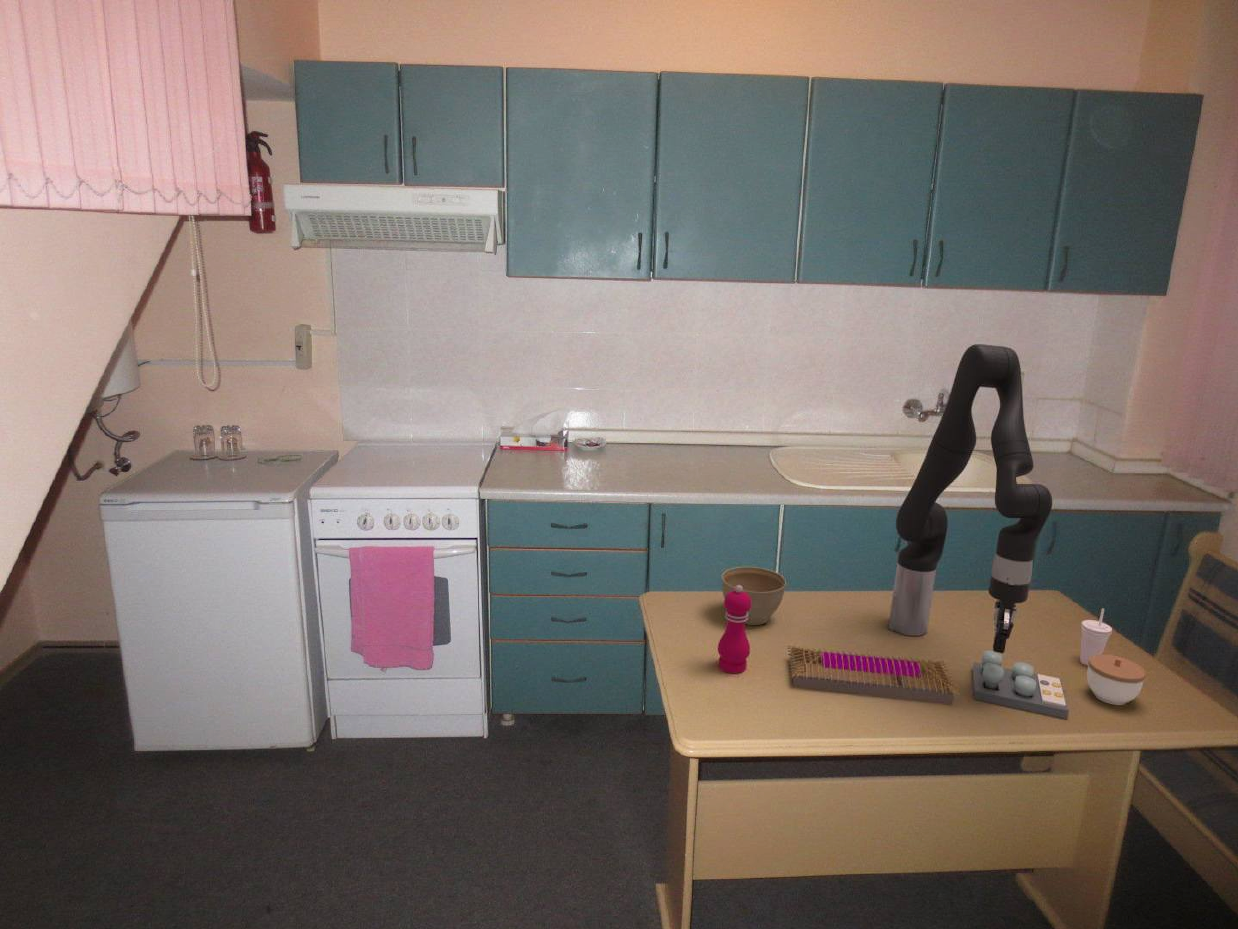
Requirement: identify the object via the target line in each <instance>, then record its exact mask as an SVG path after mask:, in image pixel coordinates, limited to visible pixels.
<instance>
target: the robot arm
mask: <svg viewBox="0 0 1238 929" xmlns="http://www.w3.org/2000/svg"><path fill="white" fill-rule="evenodd" d="M1021 369H1022V368H1021V364H1020V359H1019V356H1018V354H1017V352H1016V351H1015V350H1014V349H1012V348H1011V347H1007V346H1002V345H991V344H983V343H981V344H979V343H976V344H972V345H970V346H969V347H967V349H966V350H965V351H964V353H963V355H962V356H961V358H960V360H959V364H958V366H957V369H956V373H955V377H954V380H953V382H952V383H953V384H952V386H951V390H950V393H949V396H948V399H947V402H946V405H945V407H944V411H943V413H942V415H941V418H940V421H939V423H938V426H937V427H936V430H935V432H934V434H933V436H932V439H931V441H930V443H929V446H928V449H927V451H926V454H925V457H924V459H923V461H922V464H921V465H920V468H919V471H918V473H917V475H916V478H915V480H914V482H913V484H912V485H911V487H910V490H909V491H908V493H907V495H906V497H905V499H904V500H903V502H902V504H901V506H900V507H899V509H898V512H897V514H896V520H895V528H896V532H897V534H898V536H899V537H900V538H901V539H902V540H903V541H905V542H909V544H908V545H906V546H905V547H904V548H902V549H901V550H900V551H899V553H898V557H897V563H896V564H897V565H896V572H895V578H894V585H893V591H892V592H893V593H892V598H891V605H890V613H889V619H888V627H887V628H888V630H892V631H894V632H895V633H896V632H897V633H899V634H901V635H906V636H912V637H917V636H918V637H919V636H924V635H925V634H926V633H927V632H928V626H929V621H930V613H931V607H932V600H933V593H934V586H935V580H936V573H937V568H938V563H939V561H940V560H941V558H942V556H943V552H944V548H945V547H944V546H945V543H946V537H947V533H948V527H949V524H948V523H949V522H948V521H949V520H948V519H949V518H948V514H947V512H946V510H945V508H944V507H943V505H942V504H940V503H937V500H938V499H939V497H940V496H941V494H942V493H943V492H944V491H945V490H946V489H947V488H948V487H949V486H950V485H952V483H954V482H955V480H956V479H957V478H959V477H960V475H961V474H962V473H963V472H964V470H965V469H966V467H967V466H968V464H969V461H970V460H971V457H972V455H973V451H974V450H975V447H976V445H977V432H976V427H975V423H974V419H973V412H972V411H973V410H972V409H973V405H974V401H975V398H976V395H977V393H978V391H979V389H980V388H988V389H989V388H991V389H995V390H996V393H997V395H998V398H999V399H998V400H999V410H998V413H997V416H996V419H995V421H994V424H993V426H992V430H991V435H990V445H991V449H992V455H993V458H994V463H995V467H996V476H995V477H996V478H995V492H994V505H995V508H996V510H997V511H998V513H999V514H1000V515H1002V517H1004V518H1007V519H1019V520H1018V521H1017V522H1016V523H1013V524H1010V525H1007V526H1004V527H1002V528H1001V529H1000V530H999V533H998V539H997V545H996V552H995V555H994V557H993V562H992V567H991V572H990V578H989V585H988V594H989V596H991V598H993V599H995V600H996V601H994V615H993V625H994V630H993V632H994V638H993V644H992V651H994V652H998V653H1000V654H1004V653H1005V650H1006V649H1005V648H1006V645H1007V640H1008V639H1009V638H1010V637H1011V633H1012V630H1013V628H1014V621H1015V620H1014V619H1015V618H1016V617H1017V611H1018V610H1017V608H1016V604H1022V603H1025V602H1026V601H1028V596H1029V593H1030V592H1029V591H1030V586H1031V580H1032V574H1033V566H1034V565H1033V559H1034V554H1035V551H1036V550H1035V547H1036V542H1037V540H1038V538H1039V536H1040V534H1041V533H1042V530H1043V528H1044V527H1045V524H1046V522H1047V520H1048V518H1049V516H1050V514H1051V512H1052V507H1053V496H1052V494H1051V491H1050V489H1048V487H1047V486H1045V485H1043V484H1040V483H1018V482H1017V481H1018V480H1017V478H1019V477H1023V476H1026V475H1028V474H1029V473H1031V472H1032V471H1033V469H1034V459H1033V455H1032V452H1031V447H1030V444H1029V439H1028V436H1027V430H1026V426H1025V418H1024V414H1025V413H1024V398H1023V396H1024V395H1023V385H1022V383H1023V382H1022V372H1021V371H1022V370H1021Z"/></svg>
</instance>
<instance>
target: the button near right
mask: <svg viewBox="0 0 1238 929" xmlns="http://www.w3.org/2000/svg"><path fill="white" fill-rule="evenodd" d="M1035 688H1036V681H1035V680H1034V679H1032V678H1030V677H1027V676H1017V677H1016V680H1015V685H1014V690H1015V691H1016V692H1017V695H1020V696H1025V697H1029V696H1032V695H1034V693H1035Z"/></svg>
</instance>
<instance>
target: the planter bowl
mask: <svg viewBox="0 0 1238 929" xmlns="http://www.w3.org/2000/svg"><path fill="white" fill-rule="evenodd" d="M721 582H722V584H721V585H722V586H721V587H722V595H723V600H725V597H726V595H727V594H728V593H729V592H731V591H734V590H735V587H736V586H737V585H741V586H742V587H743V591H744V592H746V593H747V594H748V595H749V596H750V598H751V608H750V610H749V611H748V620H747V621H746V622H745V625H749V626H759V625H764V624H766V623H768V622H769V621H770V619H771V616H772V615H773V614H774V613H775V612H776V611H777V610H778V608H779V606H780V605H781V602H782V601H783V597H784V594H785V588H786V586H787V581H786V579H785V577H784V576H782V575H781V574H780V573H778V572H776V571H774V570H771V569H767V568H763V567H758V566H757V567H756V566H737V567H733V568H732V567H731V568H729V569H727V570H725V571H724V572H722V575H721Z"/></svg>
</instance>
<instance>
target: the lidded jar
mask: <svg viewBox="0 0 1238 929" xmlns="http://www.w3.org/2000/svg"><path fill="white" fill-rule="evenodd" d="M1088 664H1089V665H1088V666H1087V672H1086V679H1087V683H1088V686H1089V688H1090V691H1092V692H1093V694H1094V696H1095V697H1096V698H1097V699H1098V700H1099V701H1102V702H1104V703H1106V704H1110V705H1113V706H1123V705H1126V703H1129V702H1131V701H1133V700H1135V698H1137V697H1138V696H1139V694H1140V692H1141V689H1142V688H1143V684H1144V681H1145V679H1146V675H1147V674H1146V670H1144V668H1143V667H1142V666H1141V665H1139V664H1137V662H1133V661H1132V660H1129V659H1127V658H1124V657H1122V656H1121V657H1120V656H1117V655H1112V654H1106V653H1105V654H1104V653H1102V654H1098V655H1093V656H1091V657H1090V658H1089V662H1088Z"/></svg>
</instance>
